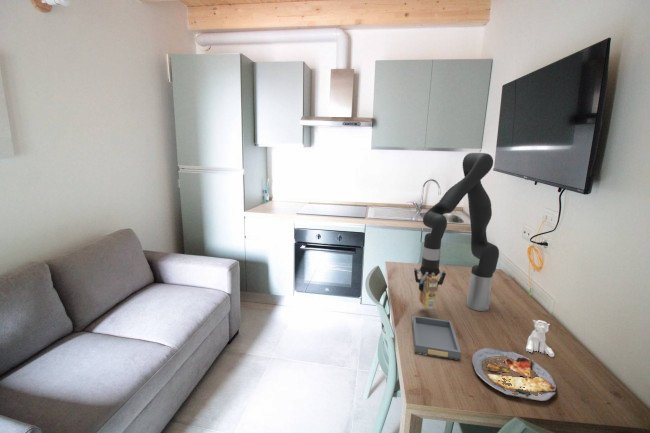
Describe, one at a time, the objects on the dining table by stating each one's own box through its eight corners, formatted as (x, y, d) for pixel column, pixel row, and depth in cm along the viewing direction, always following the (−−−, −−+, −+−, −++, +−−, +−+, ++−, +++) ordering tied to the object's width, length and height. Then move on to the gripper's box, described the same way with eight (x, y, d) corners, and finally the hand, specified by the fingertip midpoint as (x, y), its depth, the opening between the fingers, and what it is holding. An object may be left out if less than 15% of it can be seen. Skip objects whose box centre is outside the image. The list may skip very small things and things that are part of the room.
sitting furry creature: (526, 353, 118) (532, 325, 115) (518, 339, 126) (524, 313, 123) (554, 358, 116) (561, 330, 113) (545, 344, 124) (551, 317, 121)
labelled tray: (450, 328, 132) (451, 321, 132) (460, 361, 112) (461, 353, 111) (412, 322, 136) (412, 315, 135) (414, 353, 116) (415, 345, 115)
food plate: (537, 359, 114) (539, 351, 113) (571, 411, 92) (573, 402, 91) (465, 349, 120) (466, 341, 119) (480, 396, 98) (482, 387, 97)
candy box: (435, 308, 138) (438, 277, 135) (426, 309, 138) (429, 277, 134) (426, 299, 147) (429, 269, 143) (417, 299, 146) (420, 269, 143)
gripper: (446, 255, 139) (442, 289, 143) (413, 252, 142) (411, 286, 146) (449, 261, 132) (445, 297, 136) (415, 258, 135) (411, 293, 139)
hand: (427, 291), depth 141 cm, fingers closed on candy box, 5 cm apart
